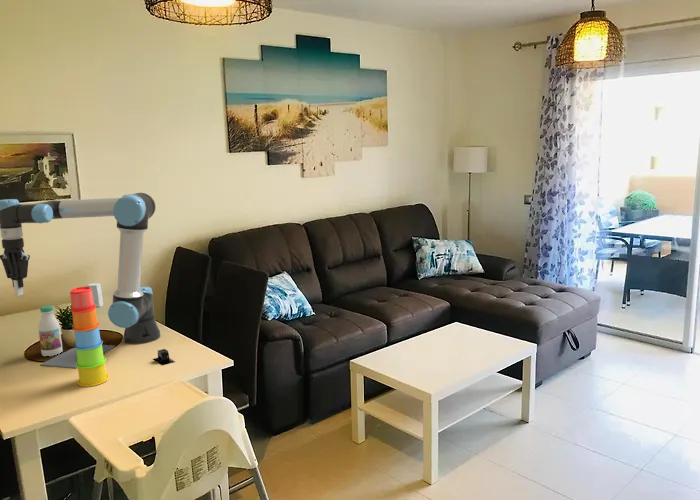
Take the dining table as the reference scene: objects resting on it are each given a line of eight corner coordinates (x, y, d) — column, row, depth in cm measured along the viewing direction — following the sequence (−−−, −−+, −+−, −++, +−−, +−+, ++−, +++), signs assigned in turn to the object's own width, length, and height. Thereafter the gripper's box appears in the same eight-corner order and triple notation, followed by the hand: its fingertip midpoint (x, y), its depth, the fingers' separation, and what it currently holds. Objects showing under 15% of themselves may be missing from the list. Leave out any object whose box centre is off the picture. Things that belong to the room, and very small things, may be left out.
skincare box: (103, 305, 303) (101, 283, 301) (99, 307, 298) (97, 285, 296) (92, 305, 303) (90, 283, 301) (88, 307, 299) (85, 285, 297)
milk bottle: (43, 351, 233) (37, 305, 230) (63, 349, 236) (58, 303, 232) (40, 358, 226) (34, 310, 222) (61, 355, 229) (55, 308, 225)
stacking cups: (114, 380, 203) (104, 286, 196) (85, 389, 195) (74, 292, 189) (101, 373, 209) (91, 282, 203) (72, 381, 202) (61, 288, 196)
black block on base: (179, 363, 218) (178, 352, 217) (160, 368, 214) (159, 357, 213) (166, 355, 227) (165, 344, 227) (148, 360, 223) (147, 349, 222)
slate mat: (115, 346, 237) (115, 345, 237) (75, 368, 214) (75, 367, 214) (82, 344, 241) (82, 343, 241) (40, 365, 218) (39, 364, 218)
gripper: (-9, 239, 223) (-2, 296, 227) (18, 240, 220) (25, 298, 224) (6, 236, 230) (13, 292, 234) (33, 237, 227) (39, 293, 231)
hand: (19, 295), depth 229 cm, fingers closed
